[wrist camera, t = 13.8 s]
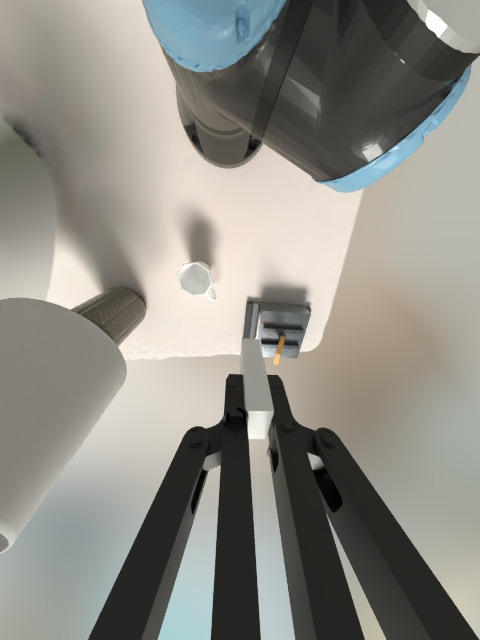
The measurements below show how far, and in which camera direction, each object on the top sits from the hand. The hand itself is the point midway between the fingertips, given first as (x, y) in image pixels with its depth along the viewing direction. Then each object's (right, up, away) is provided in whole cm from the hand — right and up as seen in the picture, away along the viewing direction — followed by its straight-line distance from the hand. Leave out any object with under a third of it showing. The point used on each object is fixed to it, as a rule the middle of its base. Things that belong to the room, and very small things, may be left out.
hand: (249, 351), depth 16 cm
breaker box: (+10, +1, +34) cm, 36 cm away
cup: (-9, +14, +27) cm, 32 cm away
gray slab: (+1, +1, +34) cm, 34 cm away
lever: (+10, -2, +29) cm, 30 cm away
